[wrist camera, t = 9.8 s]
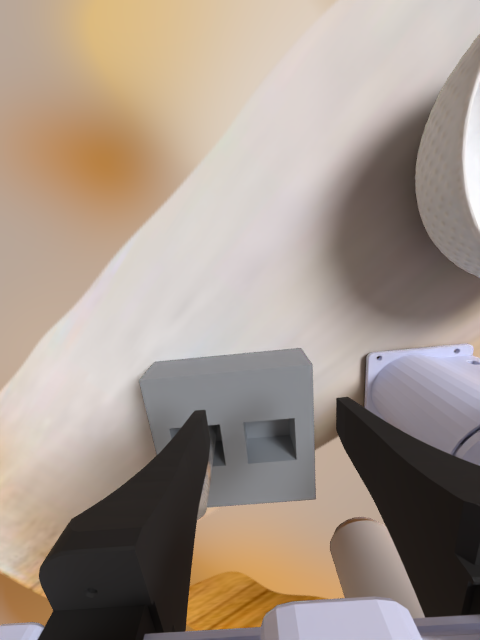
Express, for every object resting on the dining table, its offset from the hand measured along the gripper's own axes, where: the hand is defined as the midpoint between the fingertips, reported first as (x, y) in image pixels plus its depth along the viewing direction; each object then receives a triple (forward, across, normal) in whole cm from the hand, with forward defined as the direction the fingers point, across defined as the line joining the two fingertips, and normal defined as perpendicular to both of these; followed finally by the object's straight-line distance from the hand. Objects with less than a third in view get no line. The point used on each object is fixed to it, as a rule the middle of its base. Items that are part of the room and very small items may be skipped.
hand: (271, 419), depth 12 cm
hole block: (+9, +3, +7) cm, 12 cm away
